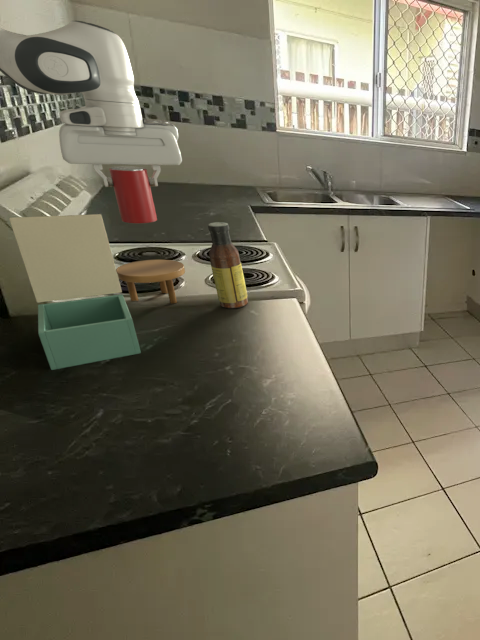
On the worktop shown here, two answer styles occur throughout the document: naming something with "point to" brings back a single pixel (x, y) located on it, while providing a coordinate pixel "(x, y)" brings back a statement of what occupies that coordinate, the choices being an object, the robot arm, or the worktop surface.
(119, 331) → the box
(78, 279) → the lid
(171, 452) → the worktop surface
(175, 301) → the stool
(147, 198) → the can
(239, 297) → the sauce bottle
